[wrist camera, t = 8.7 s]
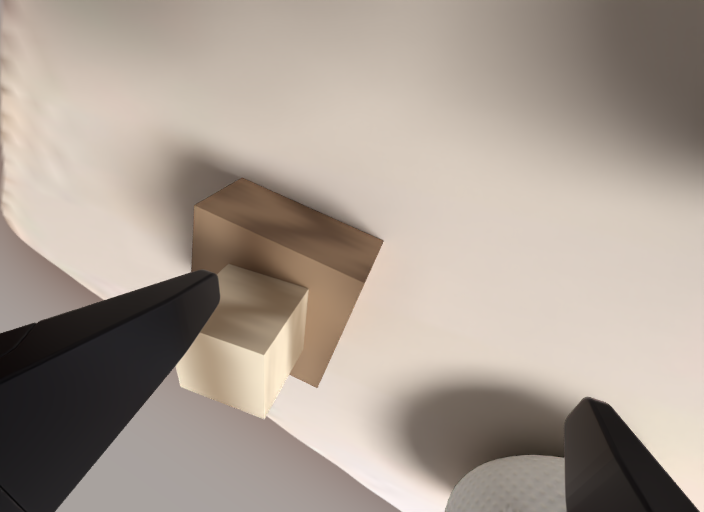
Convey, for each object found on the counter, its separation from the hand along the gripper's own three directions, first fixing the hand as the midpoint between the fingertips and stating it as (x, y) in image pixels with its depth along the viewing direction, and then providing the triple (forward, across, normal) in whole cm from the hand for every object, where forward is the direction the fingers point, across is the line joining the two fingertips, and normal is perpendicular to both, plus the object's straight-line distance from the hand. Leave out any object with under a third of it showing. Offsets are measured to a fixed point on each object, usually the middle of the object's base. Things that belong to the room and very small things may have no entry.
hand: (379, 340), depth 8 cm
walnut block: (+13, +8, +9) cm, 17 cm away
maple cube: (+8, +8, +9) cm, 14 cm away
